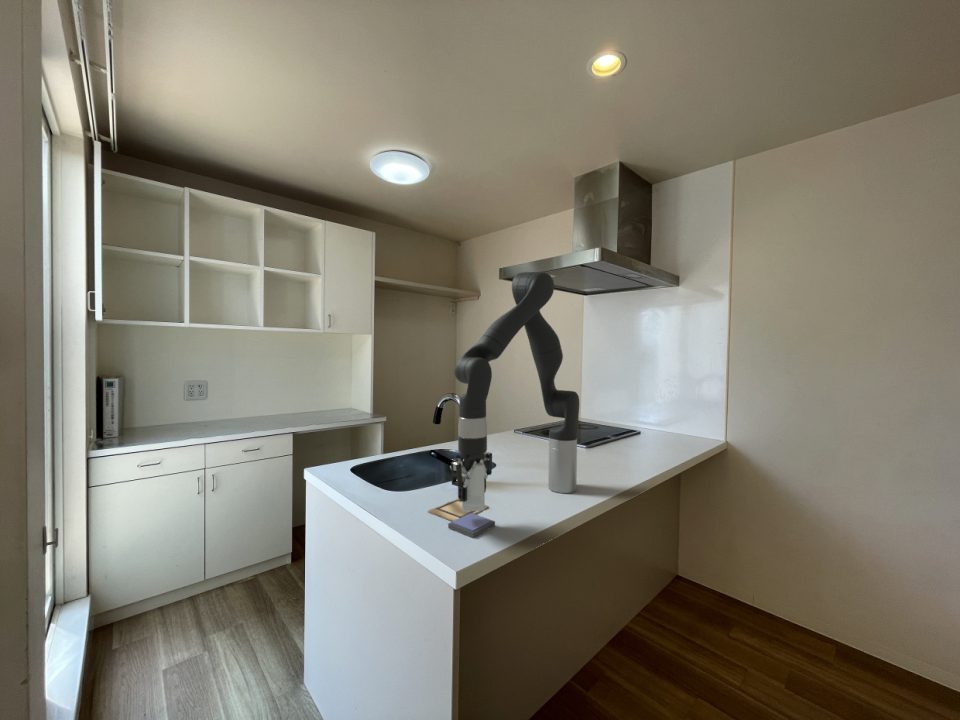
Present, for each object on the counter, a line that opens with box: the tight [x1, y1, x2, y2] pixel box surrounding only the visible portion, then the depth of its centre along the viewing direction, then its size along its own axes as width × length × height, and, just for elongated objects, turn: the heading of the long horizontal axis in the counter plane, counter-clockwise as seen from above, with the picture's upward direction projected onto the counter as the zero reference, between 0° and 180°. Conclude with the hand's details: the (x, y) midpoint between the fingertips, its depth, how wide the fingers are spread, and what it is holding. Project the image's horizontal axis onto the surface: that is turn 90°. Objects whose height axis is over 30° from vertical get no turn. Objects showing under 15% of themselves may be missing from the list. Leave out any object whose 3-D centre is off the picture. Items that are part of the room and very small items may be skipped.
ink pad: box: [447, 513, 496, 539], centre depth 102 cm, size 9×8×2 cm
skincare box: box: [462, 463, 486, 512], centre depth 102 cm, size 6×4×12 cm
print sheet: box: [427, 497, 490, 522], centre depth 113 cm, size 14×11×1 cm
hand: (472, 496), depth 102 cm, fingers closed on skincare box, 7 cm apart
